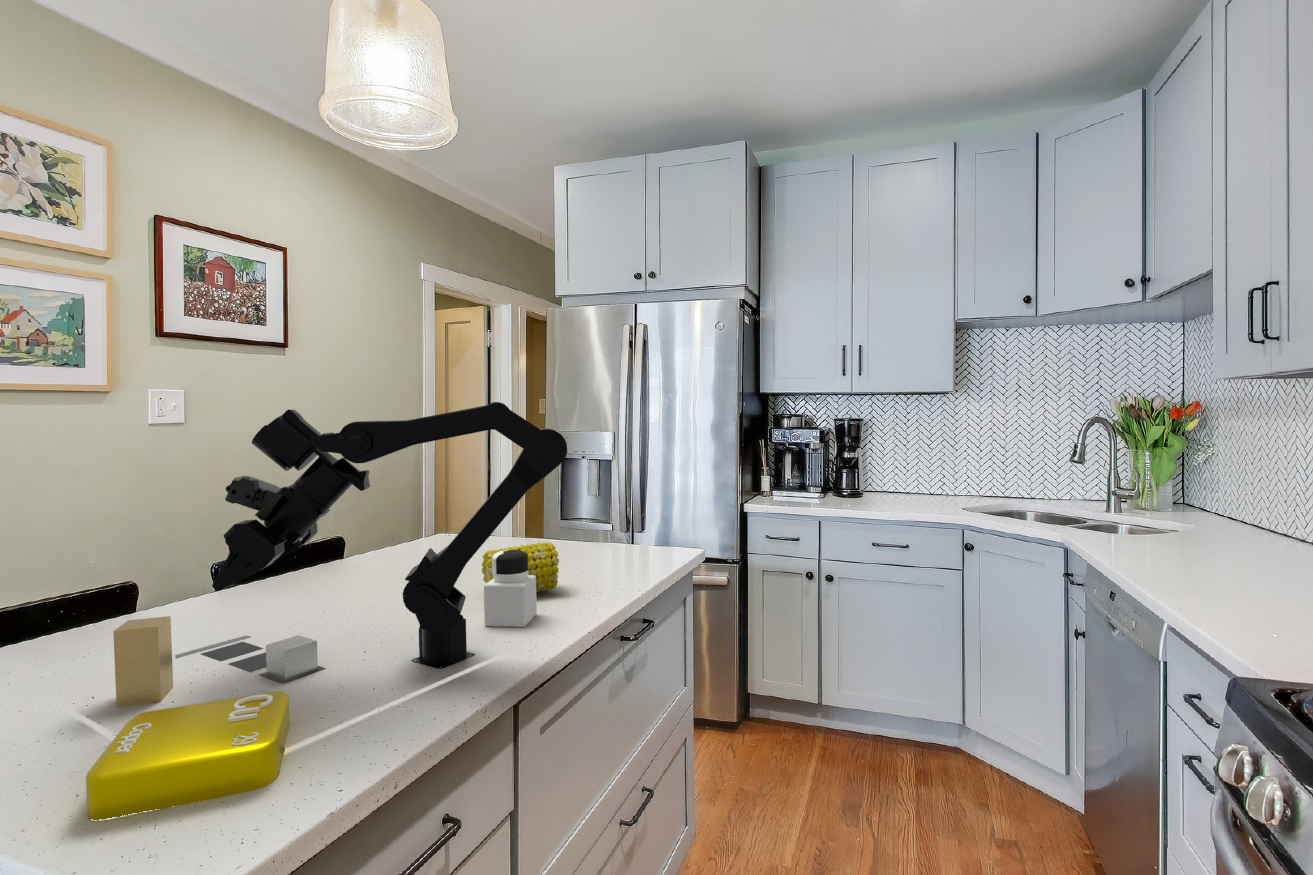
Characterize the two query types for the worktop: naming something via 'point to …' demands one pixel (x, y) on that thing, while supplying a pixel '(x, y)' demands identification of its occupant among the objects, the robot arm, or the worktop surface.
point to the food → (531, 564)
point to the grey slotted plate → (245, 664)
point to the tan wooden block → (143, 661)
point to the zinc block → (291, 657)
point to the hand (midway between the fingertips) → (230, 579)
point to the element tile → (190, 755)
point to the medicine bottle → (510, 591)
